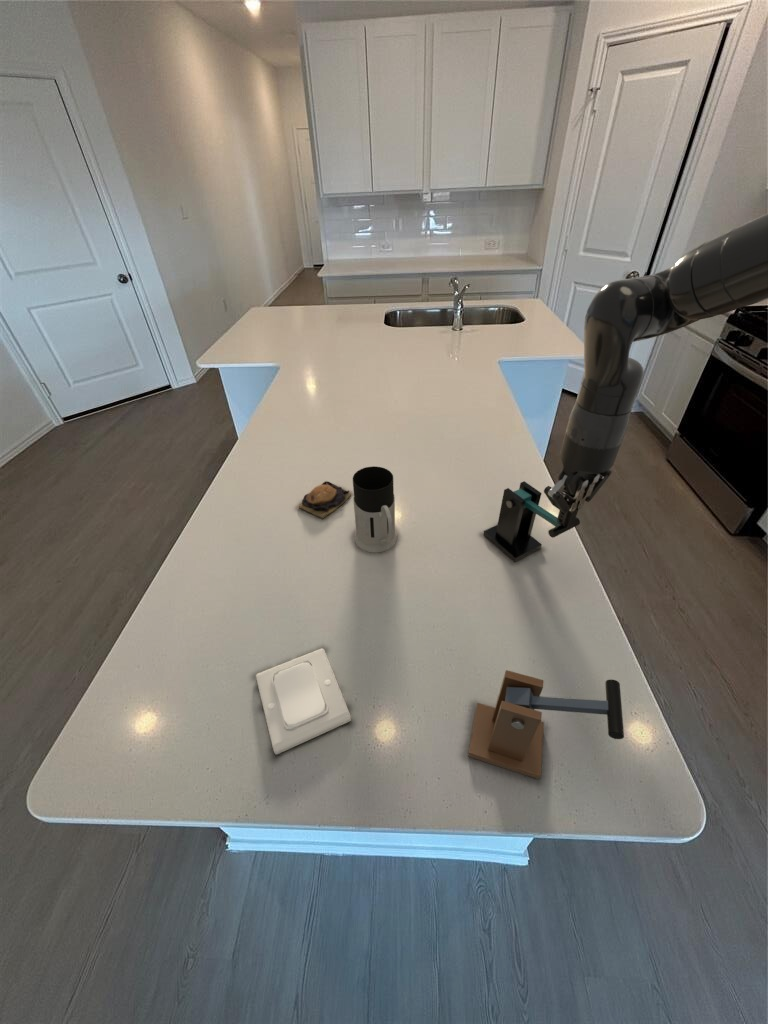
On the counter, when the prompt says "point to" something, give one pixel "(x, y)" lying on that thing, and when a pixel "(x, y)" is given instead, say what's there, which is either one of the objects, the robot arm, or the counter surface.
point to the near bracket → (510, 730)
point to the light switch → (301, 700)
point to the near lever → (576, 705)
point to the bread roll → (324, 499)
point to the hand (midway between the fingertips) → (564, 523)
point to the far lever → (545, 514)
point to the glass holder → (374, 509)
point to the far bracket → (515, 525)
